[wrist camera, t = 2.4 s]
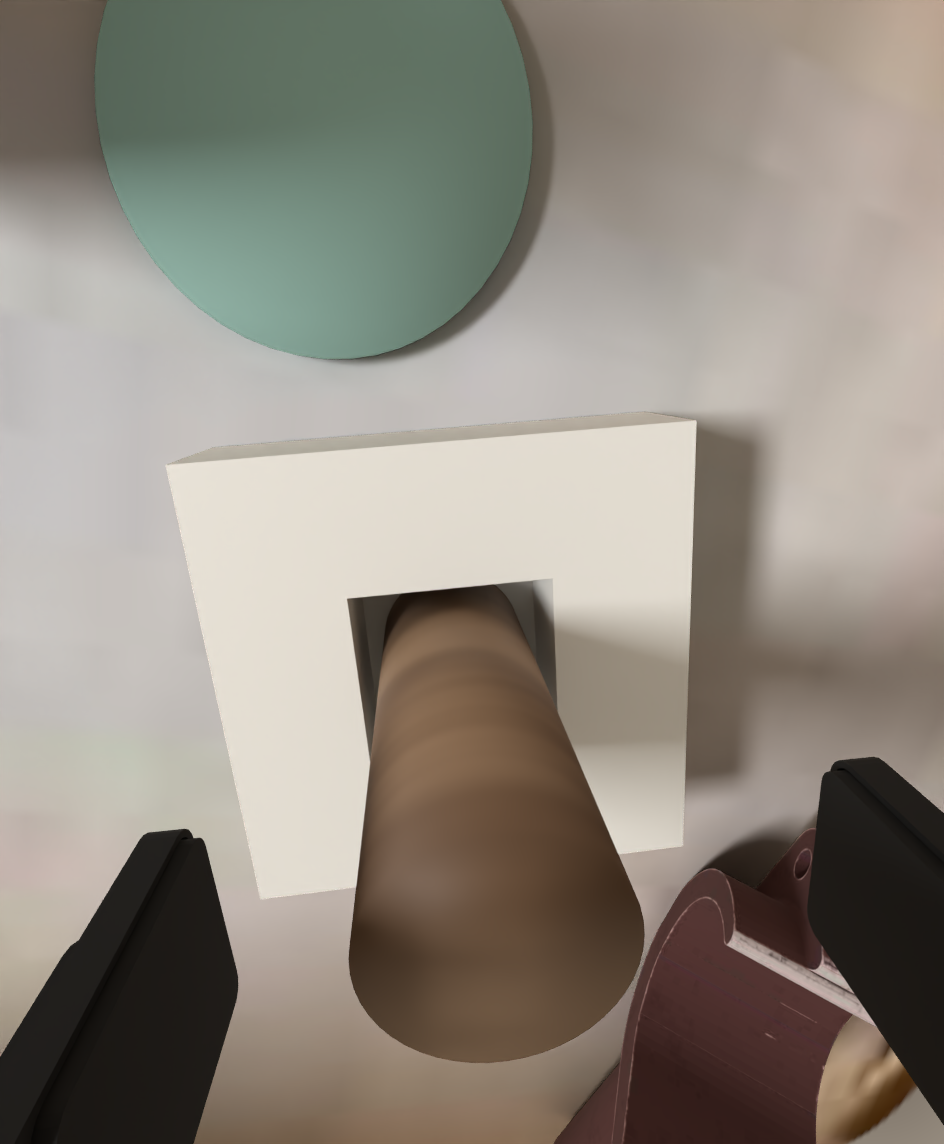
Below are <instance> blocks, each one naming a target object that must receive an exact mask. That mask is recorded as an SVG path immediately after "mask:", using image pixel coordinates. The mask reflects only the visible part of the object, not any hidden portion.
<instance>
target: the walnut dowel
mask: <svg viewBox="0 0 944 1144" xmlns="http://www.w3.org/2000/svg"><path fill="white" fill-rule="evenodd" d="M644 935H645V934H644V920H643V916H642V912H641V908H640V904H639V902H638V899H637V897H636V895H635V892H634V890H633V888H632V885H631V883H630V881H629V878H628V876H627V874H626V871H625V869H624V867H623V864H622V862H621V860H620V857H619V855H618V853H617V850H616V848H615V845H614V843H613V841H612V838H611V836H610V834H609V831H608V829H607V827H606V824H605V822H604V820H603V817H602V815H601V813H600V810H599V808H598V806H597V803H596V801H595V798H594V796H593V794H592V791H591V789H590V787H589V784H588V782H587V780H586V777H585V775H584V773H583V770H582V768H581V766H580V763H579V761H578V759H577V756H576V754H575V752H574V749H573V747H572V744H571V742H570V740H569V737H568V735H567V733H566V730H565V728H564V726H563V723H562V721H561V719H560V716H559V714H558V712H557V709H556V707H555V705H554V702H553V700H552V697H551V695H550V693H549V690H548V688H547V686H546V683H545V681H544V679H543V676H542V674H541V672H540V669H539V667H538V665H537V662H536V660H535V658H534V655H533V653H532V651H531V648H530V646H529V643H528V641H527V639H526V636H525V634H524V632H523V629H522V627H521V625H520V622H519V620H518V618H517V615H516V613H515V611H514V608H513V606H512V604H511V602H510V601H509V599H508V598H507V596H506V595H505V594H504V593H503V592H502V591H501V590H500V589H499V588H498V587H497V586H496V585H494V584H491V585H481V586H471V587H460V588H450V589H440V590H430V591H420V592H410V593H402V594H401V595H400V596H399V597H398V598H397V600H396V601H395V602H394V604H393V606H392V608H391V610H390V612H389V615H388V617H387V621H386V626H385V634H384V643H383V652H382V661H381V670H380V679H379V688H378V697H377V706H376V715H375V724H374V733H373V742H372V751H371V760H370V768H369V777H368V786H367V795H366V804H365V813H364V822H363V831H362V840H361V849H360V858H359V867H358V876H357V885H356V894H355V903H354V912H353V921H352V930H351V938H350V949H349V969H350V976H351V980H352V984H353V988H354V990H355V993H356V995H357V997H358V999H359V1001H360V1003H361V1005H362V1006H363V1008H364V1009H365V1011H366V1012H367V1014H368V1015H369V1016H370V1017H371V1018H372V1020H373V1021H374V1022H375V1023H376V1024H377V1025H378V1026H379V1027H380V1028H381V1029H383V1030H384V1031H385V1032H386V1033H387V1034H389V1035H390V1036H391V1037H393V1038H394V1039H396V1040H398V1041H399V1042H401V1043H402V1044H404V1045H406V1046H408V1047H410V1048H412V1049H415V1050H417V1051H419V1052H422V1053H425V1054H428V1055H431V1056H434V1057H437V1058H442V1059H447V1060H452V1061H460V1062H470V1063H491V1062H501V1061H510V1060H515V1059H520V1058H525V1057H529V1056H532V1055H536V1054H539V1053H543V1052H545V1051H548V1050H550V1049H553V1048H555V1047H558V1046H560V1045H562V1044H564V1043H566V1042H568V1041H570V1040H572V1039H574V1038H576V1037H577V1036H579V1035H580V1034H582V1033H583V1032H585V1031H586V1030H588V1029H590V1028H591V1027H592V1026H593V1025H595V1024H596V1023H597V1022H598V1021H600V1020H601V1019H602V1018H603V1017H604V1016H605V1015H606V1014H607V1013H608V1012H609V1011H610V1010H611V1009H612V1008H613V1007H614V1006H615V1005H616V1004H617V1003H618V1001H619V1000H620V999H621V997H622V996H623V995H624V994H625V992H626V990H627V989H628V987H629V985H630V984H631V982H632V980H633V979H634V976H635V974H636V971H637V969H638V967H639V964H640V960H641V956H642V952H643V946H644Z"/></svg>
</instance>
